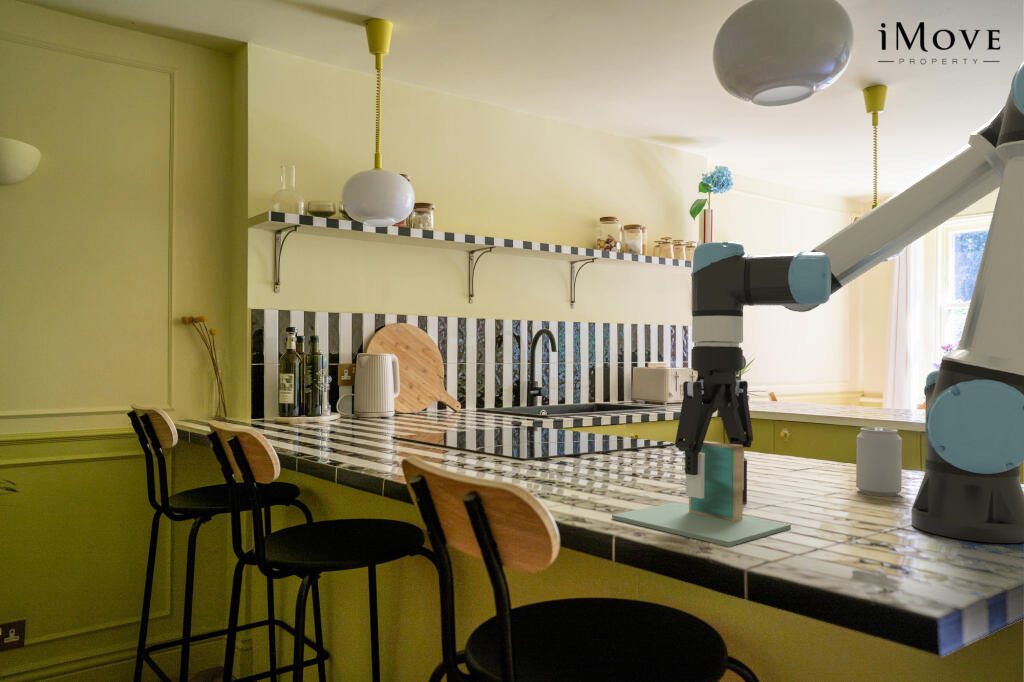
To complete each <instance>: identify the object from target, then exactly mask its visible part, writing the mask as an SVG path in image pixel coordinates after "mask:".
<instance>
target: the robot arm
mask: <svg viewBox="0 0 1024 682" xmlns="http://www.w3.org/2000/svg"><path fill="white" fill-rule="evenodd" d="M1010 85H1011V87H1010V90H1009V93H1008V96H1007V99H1006V102H1005V103H1004V105H1003V106H1002V108H1000V110H998V112H997V113H996V114H995V115H994V116H993V117H992V118H991V119H989V121H988V122H986V123H984V124H983V125H982V126H981V127H979V128H978V129H977V130H975V131H973V132H972V133H971V134H970V136H969V139H968V143H967V145H965V146H963V147H961V149H959V150H958V151H956V152H955V153H953V154H952V155H950V156H949V157H948V158H946V159H945V160H943V161H942V162H940V163H939V164H937V165H936V166H934V167H933V168H931V169H930V170H928V171H926V172H925V173H924V174H923V175H921V176H919V177H918V178H916V179H915V180H913V181H912V182H910V183H909V184H907V185H906V186H904V187H902V189H900V190H899V191H897V192H896V193H894V194H892V195H891V196H890V197H888V198H887V199H885V200H884V201H882V202H880V203H879V204H878V205H876V206H875V207H873V208H872V209H871V210H869V211H867V212H866V213H864V214H863V215H861V216H860V217H859V218H857V219H856V220H854V221H853V222H851V223H849V224H848V225H847V226H845V227H844V228H843V229H840V231H838V232H836V233H835V234H833V235H832V236H830V237H829V238H828V239H826V240H825V241H823V242H821V243H820V244H818V245H817V246H816V247H814V248H813V249H812V250H811V251H808V252H807V251H799V252H792V253H791V252H788V253H777V254H776V253H775V254H774V253H773V254H760V255H759V254H758V255H754V254H752V255H751V254H746V252H745V247H744V246H743V245H742V244H741V243H740V242H734V241H710V242H705V243H701V244H699V245H697V246H696V247H695V249H694V251H693V256H692V271H691V275H690V276H691V287H692V288H691V289H692V290H691V299H692V301H691V302H692V303H691V304H692V305H691V306H692V308H691V309H692V311H691V312H692V313H691V317H692V318H691V319H692V321H691V323H692V324H691V342H692V343H693V344H694V343H695V346H692V348H691V351H690V352H691V353H690V354H691V355H690V356H691V357H690V360H691V361H690V363H691V365H690V366H691V370H692V371H695V372H697V377H696V380H695V381H690V380H689V381H688V380H686V381H683V385H682V392H683V393H682V394H683V395H682V396H683V398H682V402H681V407H680V414H679V420H678V425H677V430H676V436H675V441H674V442H675V443H674V446H675V448H676V449H678V451H679V452H684V473H685V497H689V496H690V497H695V498H700V499H702V498H704V468H705V453H700V451H701V449H702V445H703V442H704V441H705V438H706V436H707V433H708V430H709V428H710V424H711V421H712V419H713V414H714V413H716V412H717V411H718V412H719V416H720V418H721V422H722V425H723V428H724V430H725V431H724V432H725V434H726V437H727V440H728V444H737V445H743V490H744V458H745V448H749V449H750V448H751V446H752V442H753V441H754V433H753V427H752V421H751V413H750V406H749V400H748V399H749V397H748V390H749V389H748V387H749V386H748V385H749V384H748V381H747V380H737V379H736V378H737V377H736V372H737V373H739V372H741V371H742V370H743V367H744V366H743V362H744V361H743V360H744V359H743V358H744V355H743V354H744V352H743V351H744V349H742V347H740V344H742V343H743V342H744V306H750V307H751V306H752V307H753V306H782V307H784V308H785V309H787V310H789V311H792V312H798V313H799V312H800V313H805V312H810V311H812V310H814V309H816V308H817V307H819V306H820V305H823V304H826V303H828V302H829V300H830V296H831V295H833V294H835V293H836V292H838V291H839V290H840V289H841V288H844V287H845V286H846V285H848V284H850V283H852V281H854V280H856V279H857V278H859V277H860V276H862V275H863V274H865V273H867V272H868V271H870V270H871V269H873V268H875V267H876V266H878V265H879V264H881V263H882V262H884V261H885V260H887V259H888V258H891V257H892V256H893V255H895V254H897V253H898V252H899V251H901V250H903V249H904V248H906V247H907V246H910V244H912V243H914V242H915V241H917V240H918V239H920V238H922V237H923V236H925V235H926V234H928V233H930V232H932V231H933V230H934V229H936V228H938V227H939V226H941V225H942V224H944V223H945V222H947V221H948V220H950V219H951V218H953V217H955V216H957V215H958V214H959V213H961V212H963V211H964V210H966V209H967V208H969V207H971V206H972V205H973V204H976V202H978V201H980V200H982V199H983V198H985V197H986V196H988V195H989V194H991V193H992V192H993V191H996V190H997V189H999V190H998V193H997V196H996V200H995V201H996V202H995V205H994V209H993V213H992V217H991V220H990V225H989V229H988V232H987V236H986V239H985V243H984V247H983V248H984V249H983V252H982V254H981V260H980V264H979V267H978V271H977V274H976V279H975V283H974V288H973V291H972V294H971V298H970V301H969V302H970V303H969V306H968V311H967V314H966V318H965V321H964V322H965V323H964V326H963V330H962V333H961V338H960V341H959V345H958V346H957V348H956V349H954V350H953V351H951V352H949V353H948V354H945V355H944V356H942V358H941V362H940V366H939V369H938V370H934V371H931V372H929V374H927V376H926V379H925V386H924V389H923V392H924V393H923V394H924V395H925V418H924V419H925V422H924V423H925V428H924V429H925V432H924V434H925V437H924V438H925V439H924V442H925V444H924V445H925V446H924V447H925V449H924V459H925V462H924V463H925V464H924V466H925V468H924V476H923V478H922V481H921V483H920V486H919V489H918V492H917V494H916V496H915V498H914V499H915V500H914V501H913V504H912V507H911V515H910V516H911V518H910V520H911V523H910V524H911V525H912V526H913V527H915V528H916V529H918V530H922V531H924V532H926V533H929V534H935V535H937V536H941V537H942V536H943V537H947V538H953V539H959V540H965V541H973V542H981V543H995V544H1021V543H1024V489H1023V487H1022V485H1021V481H1020V479H1021V478H1020V477H1021V476H1020V475H1021V474H1020V473H1021V472H1020V469H1021V467H1020V466H1021V465H1022V464H1024V61H1023V62H1022V63H1021V64H1020V65H1019V66H1018V68H1017V70H1016V71H1015V72H1014V74H1013V76H1012V80H1011V84H1010ZM694 443H695V444H694Z"/></svg>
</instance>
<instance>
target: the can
mask: <svg viewBox="0 0 1024 682" xmlns="http://www.w3.org/2000/svg"><path fill="white" fill-rule="evenodd" d="M898 432H899V430H898V429H894V428H886V427H881V426H879V427H877V426H876V427H861V428H860V432H859V434H857V435H856V453H855V454H856V455H855V456H856V463H855V465H856V467H855V470H856V471H855V472H856V473H855V476H856V477H855V478H856V480H855V481H856V482H855V483H856V484H855V487H856V488H857V489H858V490H859V491H860V492H861V493H863V494H864V495H867V496H876V497H895V496H897V495H898V494H899V493H901V492H902V482H903V481H902V478H903V477H902V474H903V473H902V470H903V469H902V468H903V467H902V465H903V464H902V463H903V460H902V459H903V458H902V457H903V456H902V455H903V454H902V453H903V449H902V448H903V444H902V443H903V438H902V437H901V436H900V435H899V434H898Z"/></svg>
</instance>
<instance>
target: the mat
mask: <svg viewBox="0 0 1024 682" xmlns="http://www.w3.org/2000/svg"><path fill="white" fill-rule="evenodd" d="M611 519H612V520H615V521H620V522H624V523H628V524H632V525H635V526H640V527H646V528H649V529H653V530H657V531H660V532H661V531H662V532H667V533H669V534H673V535H674V534H675V535H679V536H683V537H688V538H691V539H696V540H700V541H705V542H708V543H713V544H715V545H716V544H717V545H720V546H725V547H732V546H736V544H737V545H740V544H742V543H747V542H749V541H753V540H757V539H760V538H763V537H767V536H772V535H774V534H777V533H782V532H784V531H788V530H791V529H792V524H790V523H784V522H778V521H774V520H769V519H765V518H759V517H754V516H749V515H743V514H742V520H739V521H735V522H734V521H730V520H725V519H720V518H715V517H710V516H705V515H700V514H696V513H691V512H689V503H684V502H677V501H674V502H669V503H664V504H660V505H654V506H649V507H644V508H639V509H634V510H630V511H624V512H620V513H619V512H618V513H615V514H612V515H611Z"/></svg>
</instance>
